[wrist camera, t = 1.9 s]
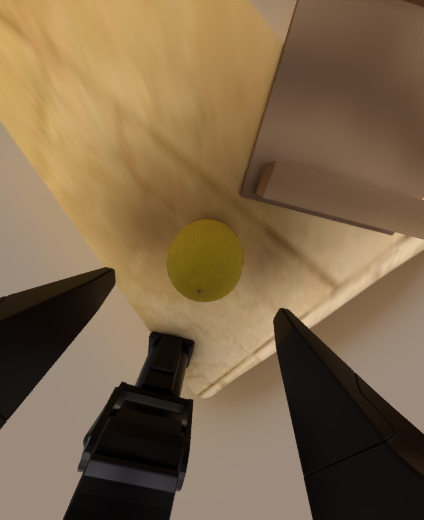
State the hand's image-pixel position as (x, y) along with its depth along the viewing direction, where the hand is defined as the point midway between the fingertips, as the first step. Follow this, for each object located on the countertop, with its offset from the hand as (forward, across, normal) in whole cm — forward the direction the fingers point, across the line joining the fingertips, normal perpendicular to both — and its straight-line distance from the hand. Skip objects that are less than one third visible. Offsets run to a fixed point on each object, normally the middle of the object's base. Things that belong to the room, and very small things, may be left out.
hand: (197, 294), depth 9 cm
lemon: (+8, 0, 0) cm, 8 cm away
